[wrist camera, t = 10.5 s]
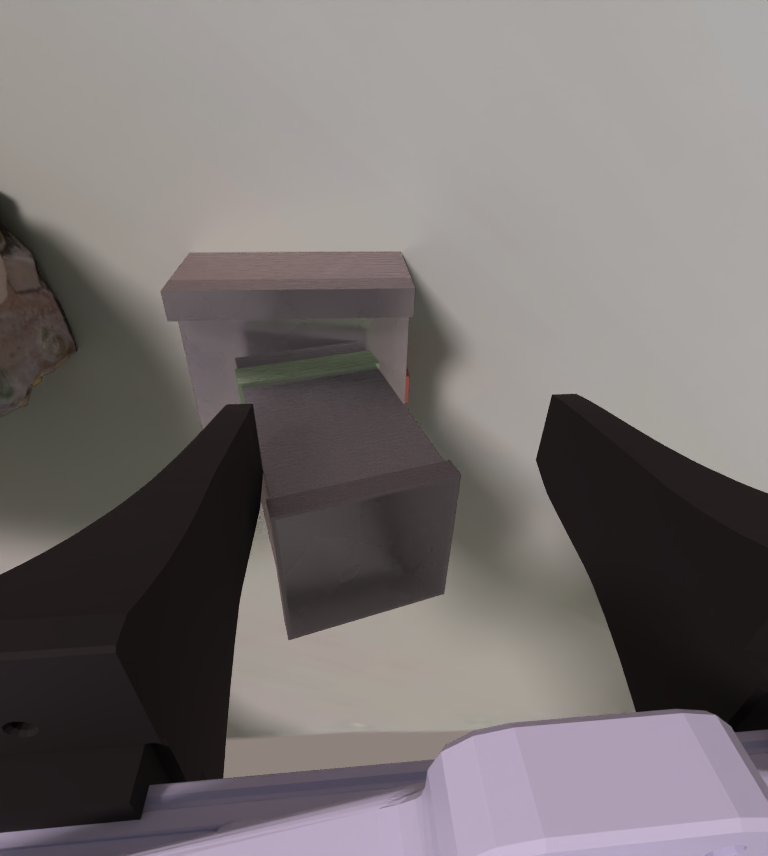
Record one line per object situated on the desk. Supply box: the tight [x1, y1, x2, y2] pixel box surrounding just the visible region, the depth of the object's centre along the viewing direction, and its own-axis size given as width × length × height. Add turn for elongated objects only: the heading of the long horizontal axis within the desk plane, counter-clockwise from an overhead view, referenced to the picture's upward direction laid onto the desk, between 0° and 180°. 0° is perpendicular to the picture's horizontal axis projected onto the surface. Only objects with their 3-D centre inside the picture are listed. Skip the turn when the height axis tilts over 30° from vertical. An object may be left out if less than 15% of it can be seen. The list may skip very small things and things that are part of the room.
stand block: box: [161, 252, 415, 429], centre depth 20 cm, size 9×8×4 cm
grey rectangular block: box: [235, 341, 461, 640], centre depth 16 cm, size 5×5×8 cm
